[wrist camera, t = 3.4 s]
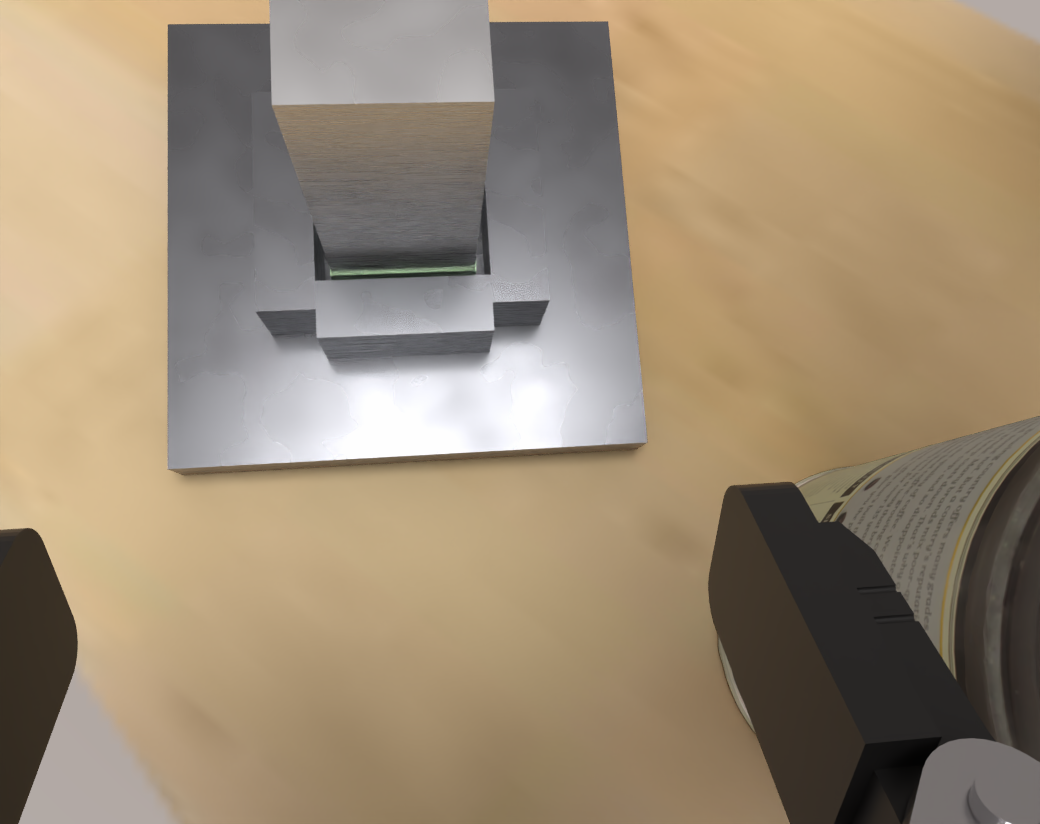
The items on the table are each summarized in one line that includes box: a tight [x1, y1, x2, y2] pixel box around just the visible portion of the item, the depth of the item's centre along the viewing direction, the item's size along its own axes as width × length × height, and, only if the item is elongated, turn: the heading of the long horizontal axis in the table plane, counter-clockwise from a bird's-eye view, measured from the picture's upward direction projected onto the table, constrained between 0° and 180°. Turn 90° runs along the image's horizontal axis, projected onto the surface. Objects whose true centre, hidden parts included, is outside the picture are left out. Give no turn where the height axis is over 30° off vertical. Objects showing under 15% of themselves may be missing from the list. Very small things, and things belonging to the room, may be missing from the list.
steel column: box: [269, 0, 495, 280], centre depth 22 cm, size 4×4×11 cm
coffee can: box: [718, 416, 1040, 762], centre depth 21 cm, size 10×10×14 cm
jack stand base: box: [168, 22, 647, 475], centre depth 24 cm, size 14×14×8 cm
